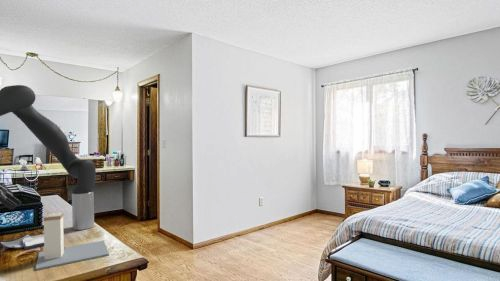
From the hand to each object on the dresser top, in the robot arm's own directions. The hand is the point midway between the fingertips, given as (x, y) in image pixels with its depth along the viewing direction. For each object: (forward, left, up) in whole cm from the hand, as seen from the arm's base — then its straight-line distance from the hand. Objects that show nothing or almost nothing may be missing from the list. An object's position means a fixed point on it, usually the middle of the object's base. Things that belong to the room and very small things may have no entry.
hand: (16, 206), depth 103 cm
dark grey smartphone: (-22, +4, -21) cm, 30 cm away
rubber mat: (+3, +17, -20) cm, 26 cm away
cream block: (+2, +11, -19) cm, 22 cm away
